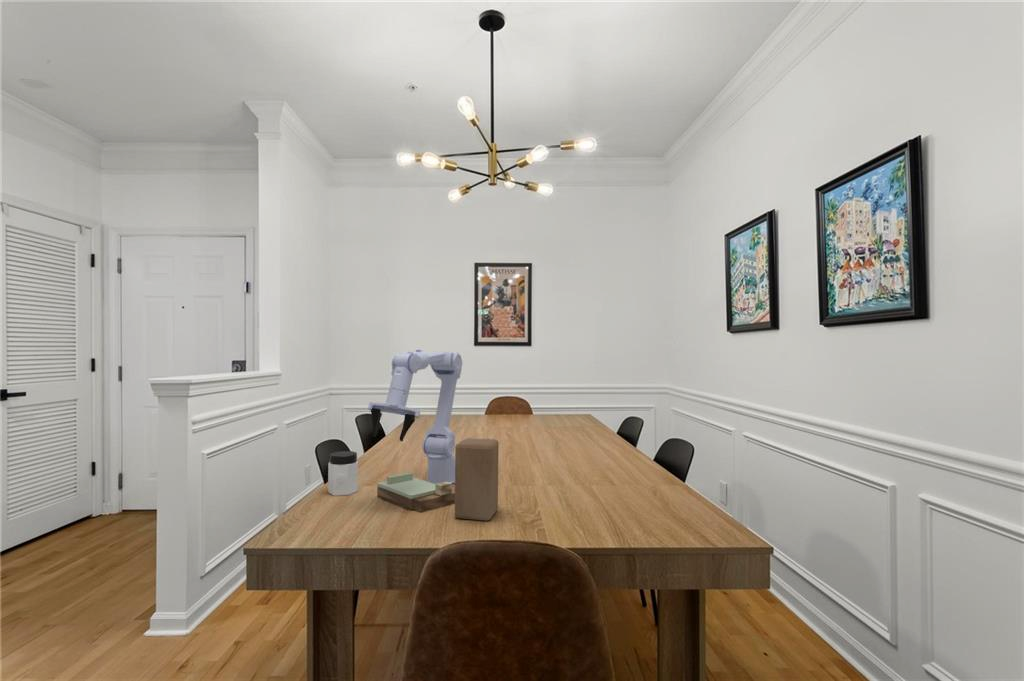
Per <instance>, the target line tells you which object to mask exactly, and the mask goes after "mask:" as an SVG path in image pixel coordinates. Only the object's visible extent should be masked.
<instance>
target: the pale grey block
mask: <svg viewBox="0 0 1024 681" xmlns="http://www.w3.org/2000/svg"><path fill="white" fill-rule="evenodd" d="M452 490H453V483H449V482H442V483H438V484H435V494H437V495H440V496H442V495H446V494H450V493H452Z"/></svg>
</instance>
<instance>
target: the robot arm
mask: <svg viewBox="0 0 1024 681" xmlns="http://www.w3.org/2000/svg"><path fill="white" fill-rule="evenodd" d="M429 366H430V368H431V369H432V371H433V373H434V375H435V377H437V379H439V380H440V381H441V383H440V384H441V385H440V389H439V396H438V402H437V406H436V412H435V418H434V423H433V426H432V427H431V428H428V429H427V431H426V433H425V436H424V439H423V440H422V446H421V449H422V451H423V453H424V454H425V457H427V479H426V480H424V481H427V482H430V483H433V484H438V483H442V482H449V483H452V484H455V455H453V454H455V453H454V452H455V447H456V434H455V433H454V432H453V431H452V430H451V429H450V423H451V418H452V412H453V406H454V399H455V393H456V389H457V388H456V387H457V381H458V379H460V378H461V374H462V367H463V359H462V355H461V354H460V353H459V352H450V351H431V352H426V351H424V350H422V349H415V351H412V350H411V351H407V352H406V353H397V354H396V355H395V356H394V357H393V359H391V373H390V374H391V376H392V377H391V380H390V381H391V382H390V384H389V388H388V393H387V396H386V401H385V403H384V402H373V401H369V404H368V407H367V409H368V411H370V414H371V420H372V435H371V436H372V437H374V438H376V437H377V435H378V429H379V425H380V422H381V418H382V416H383V413H382V412H384V413H389V414H396V415H401V416H404V418H403V423H402V429H401V431H400V432H401V433H400V435H399V441H400V442H403V441H404V439H405V436H406V434H407V433H408V431H409V429H410V428H411V426H412V425H413V424H414V423H415V421H416V419H420V414H421V411H420V409H414V408H411V407H407V402H408V399H409V398H408V397H409V394H410V389H411V385H412V380H413V377H414V374H417V373H418V371H421V370H425V369H427V368H428V367H429Z"/></svg>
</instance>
